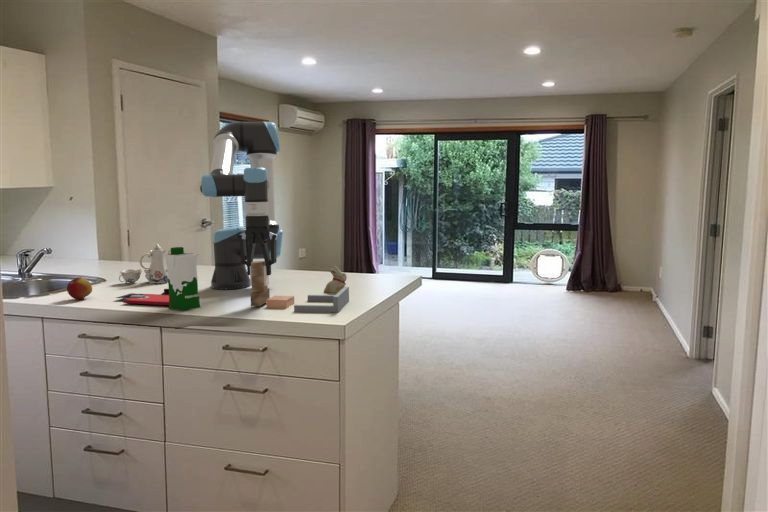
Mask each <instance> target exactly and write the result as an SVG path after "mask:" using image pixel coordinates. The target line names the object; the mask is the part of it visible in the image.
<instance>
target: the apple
mask: <svg viewBox="0 0 768 512" xmlns="http://www.w3.org/2000/svg"><path fill="white" fill-rule="evenodd" d="M66 291H67V294H68V295H69V296H70V297H71V298H72V299H75V300H77V299H78V300H77V301H79V300H80V299H81V300H83V299H84V298H86V297H88V296H90V294H91V293H92V292H93V286H92V284H91V282H90V281H89V280H88V279H86V278H85V277H82V276H81V277H76V278H73V279H72V280H71V279H70V281H69V282H68V283H67V285H66Z"/></svg>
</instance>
